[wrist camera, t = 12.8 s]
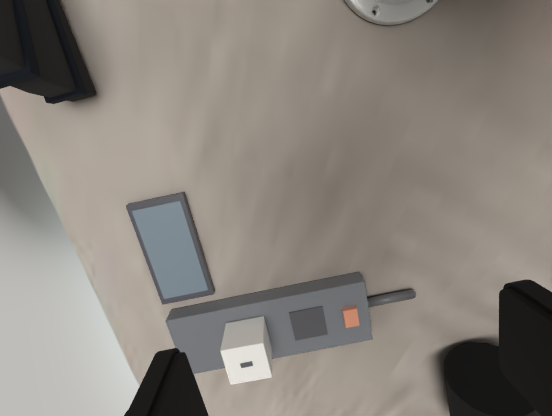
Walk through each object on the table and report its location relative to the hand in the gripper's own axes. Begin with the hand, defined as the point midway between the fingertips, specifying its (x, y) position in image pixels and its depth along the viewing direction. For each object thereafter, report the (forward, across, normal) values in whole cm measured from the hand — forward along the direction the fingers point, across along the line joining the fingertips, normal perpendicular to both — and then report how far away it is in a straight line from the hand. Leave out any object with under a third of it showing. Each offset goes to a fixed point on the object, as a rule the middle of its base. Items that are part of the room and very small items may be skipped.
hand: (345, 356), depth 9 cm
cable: (+29, -22, +46) cm, 59 cm away
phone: (+28, +16, +6) cm, 33 cm away
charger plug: (+28, +9, +19) cm, 35 cm away
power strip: (+28, +2, +19) cm, 34 cm away
